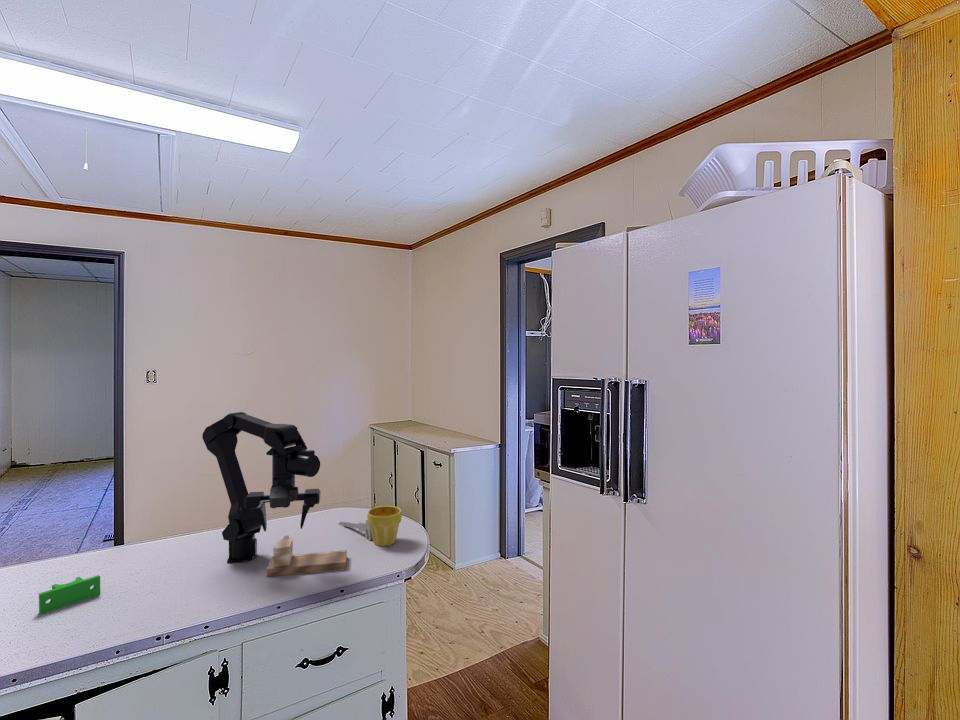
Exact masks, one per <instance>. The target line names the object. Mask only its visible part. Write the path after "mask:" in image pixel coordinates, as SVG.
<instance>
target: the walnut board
mask: <svg viewBox="0 0 960 720" xmlns="http://www.w3.org/2000/svg"><path fill="white" fill-rule="evenodd" d="M347 555H348V551H347V550H345V549H344V550H336V551H322V552H311V553H299V554H293V556H292V559H291V562H290V565H289V566H278V567H273V555H272V556H271V559H270V560H269V563H268V565H267V567H266V577H267V578H268V577H277V576H288V575H289V576H291V575H300V574H311V573H322V572H333V571H343V570H347V558H348V556H347Z"/></svg>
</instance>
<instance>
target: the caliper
mask: <svg viewBox="0 0 960 720" xmlns="http://www.w3.org/2000/svg"><path fill="white" fill-rule="evenodd" d="M338 525H340V526H342V527H345V528H346V527H347V528H353V529H358V531H359V532H364V535H365V539H366V540H368V541H373V536H372V532H371V528H370V525H369V524H368V520H367V519H366V520H365V522H364V521H361V522H354V521H347V520H342V521H341V520H340V521H339V522H338Z"/></svg>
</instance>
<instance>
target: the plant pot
mask: <svg viewBox="0 0 960 720" xmlns="http://www.w3.org/2000/svg"><path fill="white" fill-rule="evenodd" d="M402 515H403V514H402V508H400V507H398V506H396V505H395V506H394V505H380V506H375V507H372V508H370V509H369V510H367V513H366V517H367V519H366V520H368V524H369V525H370V528H371V532H372V536H373V539H372V541H373V544H374V545H375V544H376V545H375V546H378V545H379V547H387V546H386V545H388V546H391V545H394V544H395V543H396V540H397V537H398V536H397V535H398V531H399V527H400V526H399V525H400V523H401V522H402V517H403V516H402Z"/></svg>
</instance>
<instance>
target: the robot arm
mask: <svg viewBox="0 0 960 720" xmlns="http://www.w3.org/2000/svg"><path fill="white" fill-rule="evenodd" d="M241 432H244V433H247V434H250V435H253V436H255V437H258V438H261V439H262V440H263V442H264V444H265V445H267V446H269V447H270V449H269V450H267V451H266V452H265V453H266V455H267V456H271V457H272V458H271V459H272V460H271V461H272V465H271V467H272V469H271V470H272V473H271V475H272V476H271V477H272V478H271V480H272V481H271V483H272V484H271V488H270V490H269V494H267V495H266V494H265V492H264V491H252V492H251V491H250V492H248V488H247V485H246V482H245V479H244V476H243V472H242V469H241V465H240V462H239V460H238V457H237V453H236V448H237V444H238V441H239V440H238V435H239V434H240V433H241ZM201 438H202V441H203V443H204V445H205V447H206V450H207V451H208V452H209V453H211V454H212V455H213V456H214V457H215V458H216V460H217V463H218V467H219V470H220V474H221V476H222V479H223V484H224V487H225V490H226V493H227V496H228V499H229V502H230V508H229V511H228V516H227V518H228V524H227V525H226V527H225V528H224V529H223V531H221V535H222V540H224V541H228V558H227V560H226V563H239V562H240V563H241V562H251V561H253V560H254V557H255V556H256V555H257V552H258V538H256V534H257V533H258V534H259V533H261V529H263V532H266V531H267V530H268V529H267V528H268V527H267V525H268V524H267V521H268V520H267V509H266V503H269V508H271V509H276V508H277V509H278V508H284V509H285V508H289V507H290V506H291V503H292V502H299V501H300V502H301V501H303V504H302V509H301V510H302V511H301V518H300V530H302V529H303V527H304V524H305V522H306V521H305V520H306V518H307V515H308V513H309V511H310V509H311V508H314V507H315V505H320V501H321V489H319V488H306V489H305V490H304V492H303V493H302V492H301V493H299V487H298V486H296V476H300V477H307V478H314V477H315V476H316V475H318V473H319V471H320V469H321V461H320V458H319V457H318V456H317V455H316V454H315V453H316V452H315V450H313V449H310V450H308V447H307V445H306V442H305V441H304V439H303V437H302V435H301V433H300V432H299V430H298V427H297V426H296V425H294V424H289V423H273V422H269V421H266V420H263V419H261V418H259V417H258V418H257V417H255V416H253V415H250V414H247V413H245V412H243V411H238V412H230V413H228V414H227V415H225V416H224V417H222V418H221V419H219V420H218V421H216V422H214V423H212V424H210V425H209V426H206V427H205V429H204V430H203V432H202V436H201Z"/></svg>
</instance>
